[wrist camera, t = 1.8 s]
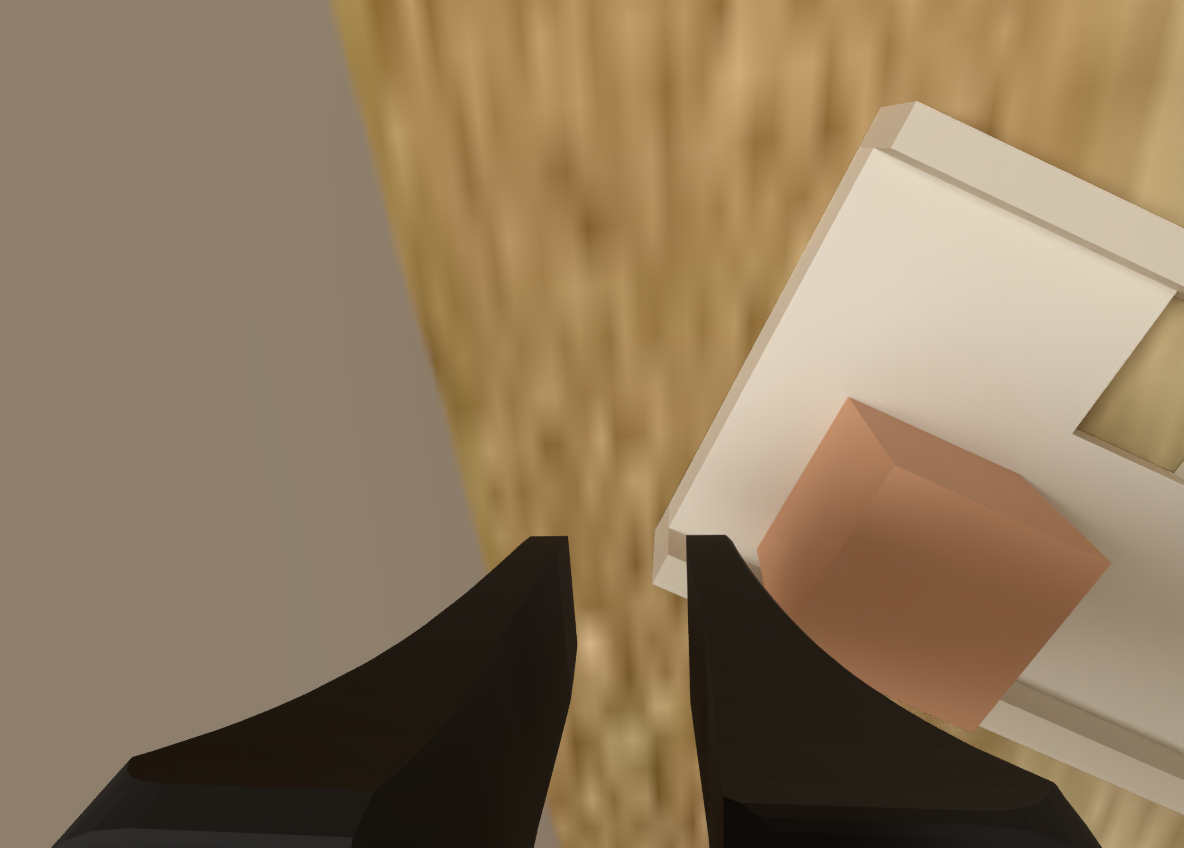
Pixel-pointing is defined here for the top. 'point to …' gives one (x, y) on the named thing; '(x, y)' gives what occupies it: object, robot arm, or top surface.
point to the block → (923, 565)
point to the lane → (981, 406)
